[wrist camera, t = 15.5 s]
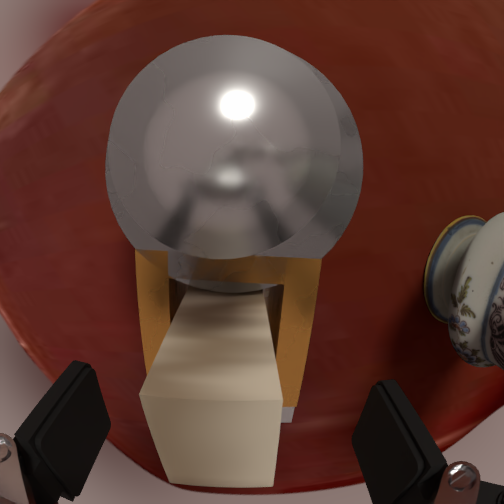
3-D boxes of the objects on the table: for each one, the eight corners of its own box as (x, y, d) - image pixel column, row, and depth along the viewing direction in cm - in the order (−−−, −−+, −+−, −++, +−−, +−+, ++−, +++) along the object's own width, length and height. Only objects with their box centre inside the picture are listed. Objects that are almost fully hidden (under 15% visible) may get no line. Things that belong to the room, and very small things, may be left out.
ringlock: (324, 96, 17) (434, -2, 4) (288, 410, 23) (313, 538, 10) (159, 88, 16) (55, -15, 4) (164, 403, 22) (129, 527, 10)
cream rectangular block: (257, 262, 18) (282, 399, 6) (256, 327, 19) (272, 486, 7) (200, 262, 18) (138, 394, 6) (204, 327, 19) (169, 482, 7)
